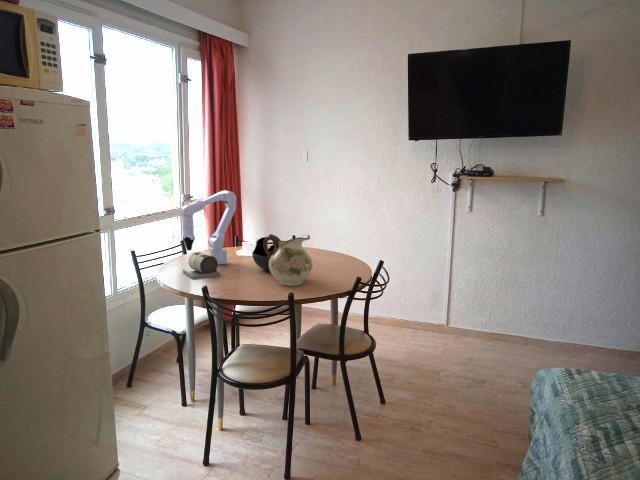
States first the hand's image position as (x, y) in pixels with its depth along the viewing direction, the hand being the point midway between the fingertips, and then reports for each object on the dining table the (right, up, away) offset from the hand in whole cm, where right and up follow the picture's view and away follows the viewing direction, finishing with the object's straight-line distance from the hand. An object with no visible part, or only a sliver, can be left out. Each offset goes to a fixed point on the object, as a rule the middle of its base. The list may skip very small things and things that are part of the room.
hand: (189, 250), depth 262 cm
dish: (+32, -3, +40) cm, 51 cm away
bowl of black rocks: (+47, -11, -3) cm, 48 cm away
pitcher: (+59, -16, -27) cm, 67 cm away
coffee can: (+6, -6, -6) cm, 10 cm away
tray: (+10, -13, -13) cm, 20 cm away
